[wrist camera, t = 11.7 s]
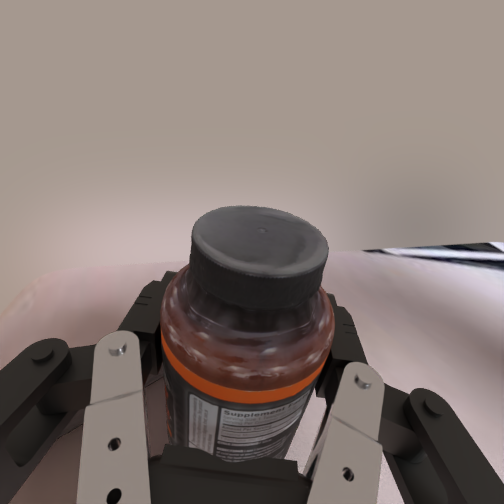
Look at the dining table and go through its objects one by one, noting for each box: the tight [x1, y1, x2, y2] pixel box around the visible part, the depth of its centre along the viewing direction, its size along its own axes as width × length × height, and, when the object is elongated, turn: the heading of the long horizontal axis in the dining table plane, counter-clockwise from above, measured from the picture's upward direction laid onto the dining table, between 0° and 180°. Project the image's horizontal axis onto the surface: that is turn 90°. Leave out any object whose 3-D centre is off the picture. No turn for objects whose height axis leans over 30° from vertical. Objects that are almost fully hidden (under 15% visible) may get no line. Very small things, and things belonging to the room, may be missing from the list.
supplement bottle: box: [160, 206, 335, 463], centre depth 11 cm, size 6×6×11 cm
